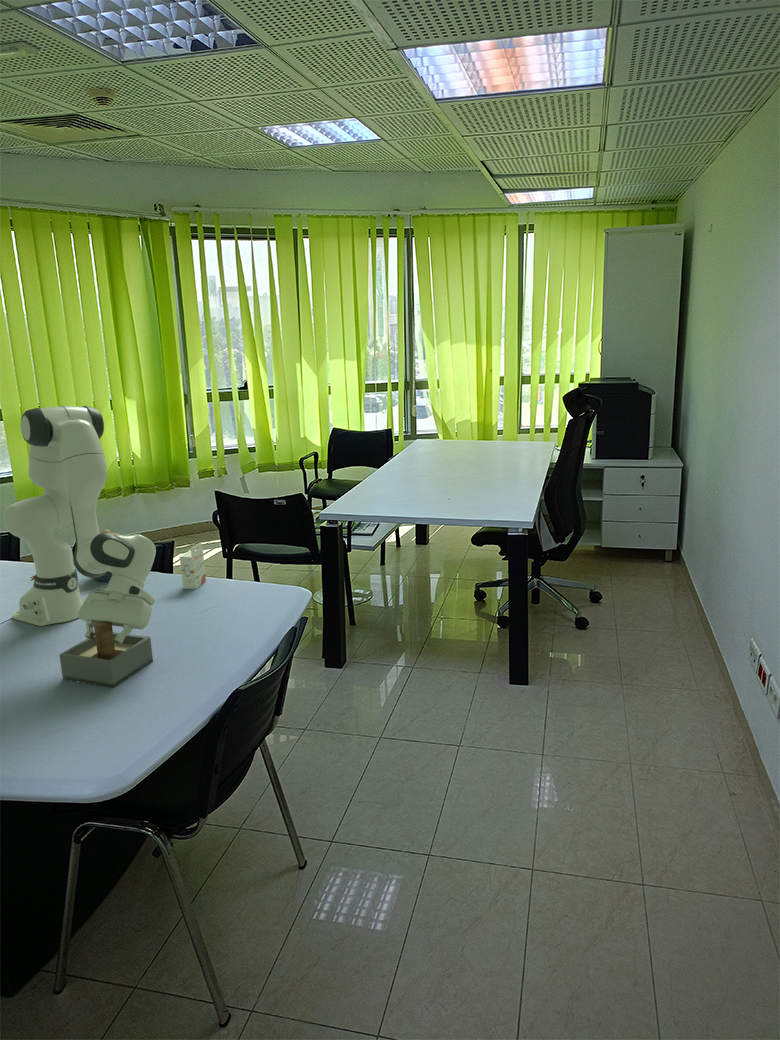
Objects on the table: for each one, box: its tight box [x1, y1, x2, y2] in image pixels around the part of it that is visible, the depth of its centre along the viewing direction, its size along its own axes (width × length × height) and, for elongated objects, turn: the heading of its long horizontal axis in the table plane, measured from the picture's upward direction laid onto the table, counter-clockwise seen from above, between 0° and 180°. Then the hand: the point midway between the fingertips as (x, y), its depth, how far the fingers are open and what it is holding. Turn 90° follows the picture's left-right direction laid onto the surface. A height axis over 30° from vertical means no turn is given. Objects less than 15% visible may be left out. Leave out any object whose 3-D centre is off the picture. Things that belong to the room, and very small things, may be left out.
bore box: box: [58, 631, 154, 689], centre depth 200 cm, size 16×16×7 cm
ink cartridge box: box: [179, 541, 207, 590], centre depth 262 cm, size 9×5×15 cm, turn 169°
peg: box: [93, 621, 116, 660], centre depth 199 cm, size 4×4×12 cm
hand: (103, 640), depth 198 cm, fingers open, 8 cm apart
